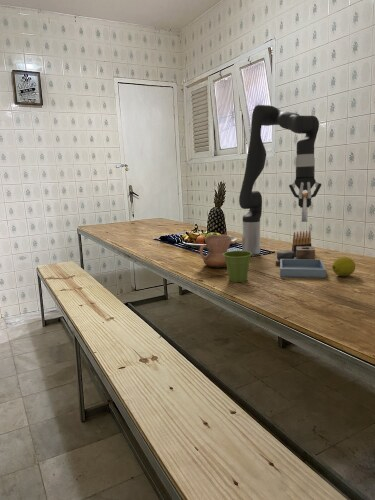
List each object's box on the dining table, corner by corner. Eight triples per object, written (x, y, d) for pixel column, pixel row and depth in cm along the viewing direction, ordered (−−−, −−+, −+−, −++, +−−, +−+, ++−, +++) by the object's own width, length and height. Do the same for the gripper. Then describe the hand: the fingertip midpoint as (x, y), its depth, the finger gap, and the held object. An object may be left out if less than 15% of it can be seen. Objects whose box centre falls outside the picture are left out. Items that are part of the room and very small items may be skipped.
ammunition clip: (309, 252, 202) (310, 230, 200) (311, 253, 201) (312, 230, 198) (291, 254, 200) (291, 231, 197) (293, 255, 198) (293, 232, 196)
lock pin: (301, 221, 163) (301, 193, 160) (300, 221, 165) (300, 193, 163) (308, 221, 162) (308, 193, 160) (307, 220, 165) (308, 192, 162)
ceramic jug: (228, 260, 191) (227, 232, 189) (241, 266, 178) (240, 236, 175) (195, 265, 186) (193, 236, 183) (205, 272, 173) (204, 241, 170)
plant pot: (229, 275, 165) (228, 249, 163) (255, 277, 160) (255, 251, 158) (219, 282, 155) (218, 255, 152) (247, 285, 150) (247, 257, 147)
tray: (280, 276, 160) (280, 268, 159) (280, 266, 177) (280, 258, 176) (325, 278, 155) (326, 269, 155) (321, 266, 172) (321, 259, 172)
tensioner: (275, 265, 179) (275, 250, 177) (275, 259, 190) (276, 245, 188) (316, 266, 174) (316, 251, 173) (313, 259, 186) (314, 245, 184)
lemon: (347, 272, 162) (348, 254, 161) (360, 277, 155) (361, 257, 153) (325, 275, 159) (326, 256, 158) (337, 280, 152) (338, 260, 150)
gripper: (288, 166, 157) (288, 208, 160) (323, 164, 154) (323, 207, 157) (287, 166, 164) (287, 207, 168) (321, 165, 161) (320, 206, 165)
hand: (304, 207), depth 162 cm, fingers closed on lock pin, 2 cm apart
